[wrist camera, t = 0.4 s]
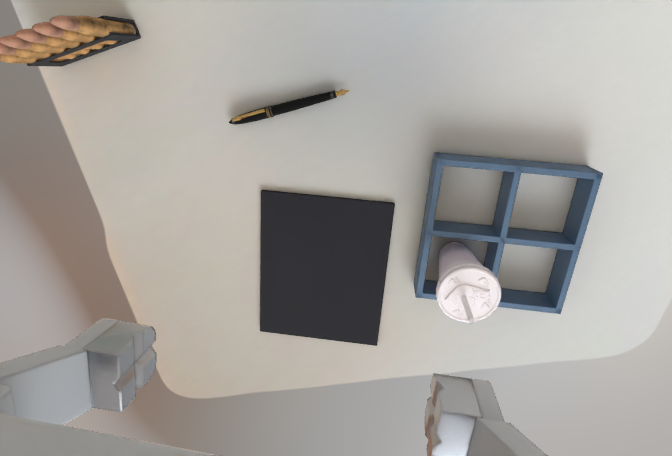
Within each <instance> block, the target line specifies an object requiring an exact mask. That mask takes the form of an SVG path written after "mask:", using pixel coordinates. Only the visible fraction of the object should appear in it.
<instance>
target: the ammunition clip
mask: <svg viewBox="0 0 672 456" xmlns="http://www.w3.org/2000/svg"><path fill="white" fill-rule="evenodd" d="M32 28H33V29H23V30H20V31H17V32H16V33H15V35H8V36H4V37H2V38H0V61H3V62H7V63H27V65H28V66H64V65H67V64H70V63H73V62H75V61H78V60H81V59H84V58H86V57H89V56H92V55H95V54H98V53H100V52H103V51H106V50H109V49H111V48H114V47H117V46H120V45H123V44H125V43H128V42H131V41H134V40H136V39H139V38H140V34H139V32H138V29H137V27H136V24H135V22H134V20H129V19H122V18H115V17H109V16H101V17H99V18H95V17H88V16H78V17H75V16H56V17H53V18H51V19H50V22H43V23H38V24H35V25H33V26H32Z"/></svg>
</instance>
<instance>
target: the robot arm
mask: <svg viewBox="0 0 672 456" xmlns="http://www.w3.org/2000/svg"><path fill="white" fill-rule="evenodd" d="M155 341H156V333H155V329H154V328H153V327H152V326H147V325H141V324H136V323H131V322H125V321H119V320H114V319H108V318H104V319H100V320H99V321H98V322H96V323H95V324H93V325H92V326H91V327H89V328H88V329H87V330H85V331H84V332H83V333H81V334H80V335H79V336H77V337H76V338H75V339H73V340H72V341H71V342H69V343H68V344H67V345H65V346H56V347H52V348H49V349H46V350H42V351H39V352H36V353H32V354H29V355H25V356H22V357H19V358H15V359H12V360H9V361H5V362H2V363H0V456H220V455H215V454H209V453H204V452H198V451H194V450H188V449H183V448H178V447H173V446H167V445H162V444H157V443H152V442H146V441H141V440H136V439H130V438H125V437H120V436H114V435H109V434H105V433H99V432H94V431H88V430H84V429H78V428H73V427H67V426H63V425H64V424H66V423H68V422H70V421H71V420H73V419H75V418H77V417H79V416H80V415H82V414H84V413H86V412H88V411H90V410H92V408H97V409H103V410H111V411H116V412H123V410H124V409H125V408H126V407H127V406H128V405H129V404H130V402H131V401H132V400H133V399H134V398H135V397H136V389H138V388H141V387H143V386H145V385H146V384H147V383H148V381H149V380H150V379H151V377H152V374H153V372H154V370H155V367H156V361H157V357H156V352H155V350H154V349H153V347H152V346H151V345H152V344H153V343H154V342H155ZM430 388H431V397H430V398H429V399H427V405H426V411H425V435H426V437H427V438H428V444H427V456H548V455H546V454H545V453H544V452H543V451H542V450H541V449H539V448H538V447H537V446H536V445H535V444H534V443H533V442H531V441H530V440H529V439H528V438H527V437H525V436H524V435H523V434H522V433H521V432H520V431H519V430H518V429H516V428H515V427H514V426H513V425H512V424H511V423H507V422H505V421H504V419H503V416H502V413H501V410H500V407H499V404H498V402H497V399H496V396H495V393H494V391H493V388H492V385H491V383H490V382H489V381H486V380H479V379H469V378H462V377H455V376H449V375H442V374H435V373H433V376H432V380H431V384H430Z"/></svg>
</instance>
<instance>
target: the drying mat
mask: <svg viewBox="0 0 672 456" xmlns="http://www.w3.org/2000/svg"><path fill="white" fill-rule="evenodd" d="M394 206H395V203H390V202H380V201H369V200H359V199H349V198H339V197H329V196H319V195H309V194H298V193H288V192H278V191H268V190H262V191H261V290H260V331H263V332H271V333H279V334H287V335H295V336H303V337H311V338H319V339H327V340H335V341H344V342H352V343H360V344H368V345H376V346H377V341H378V333H379V325H380V317H381V309H382V301H383V293H384V285H385V277H386V269H387V261H388V253H389V245H390V237H391V230H392V222H393V214H394Z"/></svg>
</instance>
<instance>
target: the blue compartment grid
mask: <svg viewBox="0 0 672 456" xmlns="http://www.w3.org/2000/svg"><path fill="white" fill-rule="evenodd" d="M443 166H454V167H465V168H476V169H487V170H498V171H504V175H503V180H502V184H501V189H500V193H499V198H498V203H497V207H496V212H495V216H494V221H493V226H486V225H476V224H466V223H456V222H446V221H436V220H434V219H435V213H436V207H437V201H438V195H439V189H440V182H441V176H442V170H443ZM521 173H531V174H542V175H553V176H564V177H575V178H578V181H577V184H576V188H575V191H574V195H573V198H572V202H571V205H570V209H569V212H568V216H567V219H566V223H565V227H564V230H563V233H555V232H545V231H536V230H526V229H516V228H508V227H509V223H510V218H511V214H512V210H513V205H514V201H515V197H516V192H517V188H518V184H519V180H520V175H521ZM602 175H603V173H601V172H599V171H597V170H595V169H593V168H591V167H589V166H582V165H570V164H559V163H548V162H537V161H525V160H514V159H503V158H492V157H481V156H469V155H458V154H447V153H436V152H434V156H433V162H432V169H431V175H430V182H429V188H428V195H427V201H426V208H425V214H424V221H423V227H422V234H421V240H420V247H419V253H418V260H417V266H416V273H415V279H414V288H415V295H416V297H417V298H426V299H435V300H437V298H436V287H437V283H438V281H429V280H425V274H426V268H427V262H428V256H429V250H430V244H431V237H432V236H439V237H448V238H458V239H468V240H477V241H487V242H489V244H488V249H487V253H486V258H485V262H484V267H486V268H488V269H489V270H490V271H491V272H493V273H494V275H495V276H496V278H497V274H498V270H499V266H500V261H501V257H502V253H503V248H504V244H505V243H506V244H516V245H526V246H535V247H545V248H555V249H558V251H557V255H556V258H555V262H554V265H553V269H552V272H551V276H550V279H549V283H548V287H547V290H546V293H537V292H528V291H519V290H510V289H501V299H500V302H499V305H498V306H497V307H505V308H513V309H522V310H531V311H540V312H548V313H557V314H561V310H562V307H563V304H564V301H565V297H566V294H567V291H568V287H569V284H570V281H571V278H572V274H573V271H574V268H575V264H576V261H577V258H578V254H579V251H580V248H581V245H582V241H583V238H584V235H585V231H586V228H587V225H588V222H589V218H590V215H591V212H592V208H593V205H594V202H595V199H596V195H597V192H598V189H599V185H600V182H601V179H602Z"/></svg>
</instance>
